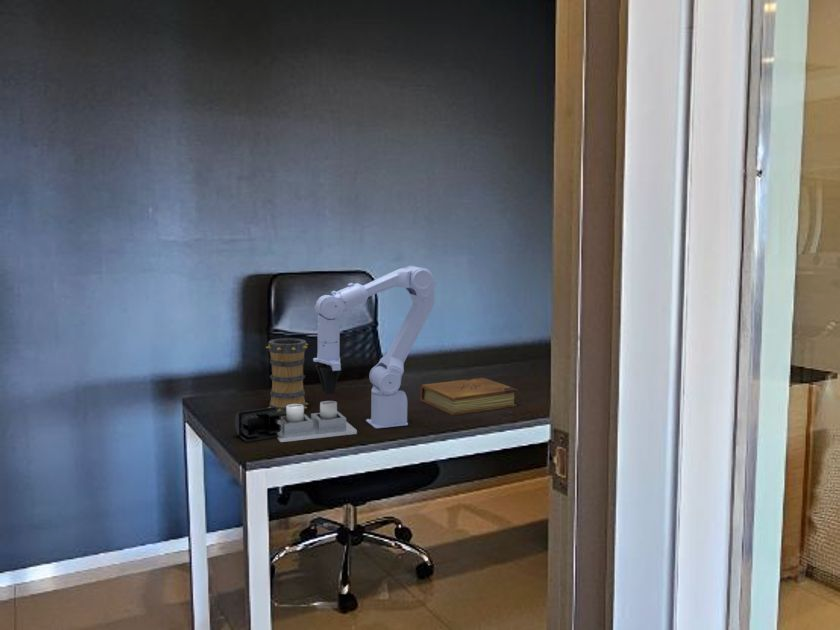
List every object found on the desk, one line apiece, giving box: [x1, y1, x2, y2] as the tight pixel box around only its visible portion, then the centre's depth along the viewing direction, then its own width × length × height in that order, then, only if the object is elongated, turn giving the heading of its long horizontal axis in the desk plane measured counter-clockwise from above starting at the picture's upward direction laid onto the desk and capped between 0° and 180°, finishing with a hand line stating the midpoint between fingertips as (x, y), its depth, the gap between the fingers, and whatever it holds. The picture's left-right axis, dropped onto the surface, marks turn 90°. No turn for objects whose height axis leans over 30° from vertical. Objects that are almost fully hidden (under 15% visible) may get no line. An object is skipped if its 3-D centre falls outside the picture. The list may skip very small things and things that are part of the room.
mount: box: [275, 410, 358, 443], centre depth 193 cm, size 20×14×4 cm
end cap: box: [234, 406, 282, 443], centre depth 187 cm, size 10×7×7 cm
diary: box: [419, 377, 519, 416], centre depth 224 cm, size 23×19×6 cm
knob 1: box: [285, 404, 305, 423], centre depth 191 cm, size 4×4×4 cm
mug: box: [265, 337, 309, 415], centre depth 214 cm, size 13×17×20 cm
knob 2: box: [319, 400, 338, 419], centre depth 195 cm, size 4×4×4 cm
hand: (328, 392), depth 194 cm, fingers closed
